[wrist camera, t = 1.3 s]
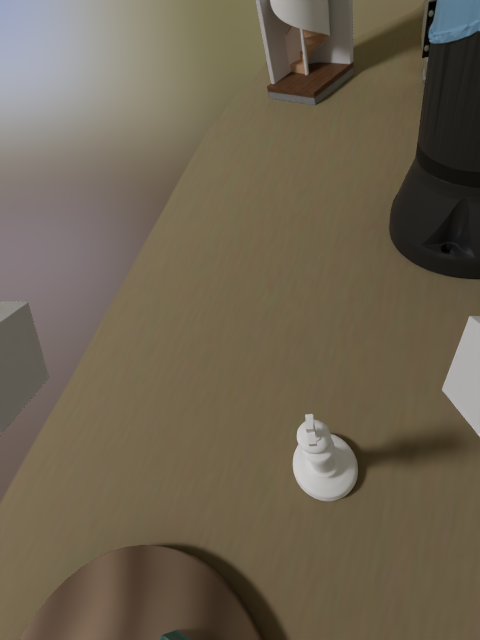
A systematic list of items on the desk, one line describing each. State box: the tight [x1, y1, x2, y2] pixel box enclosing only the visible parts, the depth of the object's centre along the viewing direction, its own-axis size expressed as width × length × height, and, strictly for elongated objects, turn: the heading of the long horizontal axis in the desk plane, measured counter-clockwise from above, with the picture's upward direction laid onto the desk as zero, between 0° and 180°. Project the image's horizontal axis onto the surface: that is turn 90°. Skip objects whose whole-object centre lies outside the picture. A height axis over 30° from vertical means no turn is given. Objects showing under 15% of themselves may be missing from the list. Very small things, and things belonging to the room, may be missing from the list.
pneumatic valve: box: [421, 0, 437, 83], centre depth 49 cm, size 6×12×12 cm, turn 165°
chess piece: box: [293, 414, 358, 501], centre depth 23 cm, size 5×5×10 cm
